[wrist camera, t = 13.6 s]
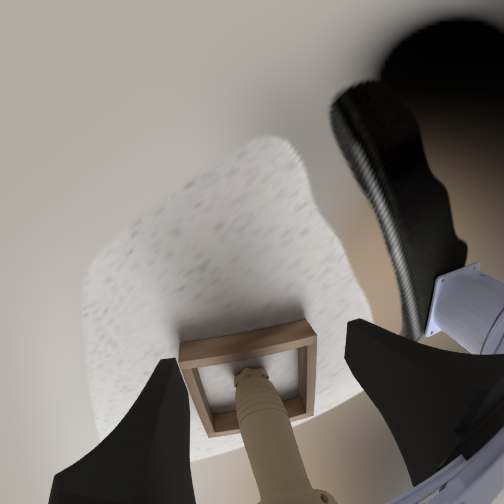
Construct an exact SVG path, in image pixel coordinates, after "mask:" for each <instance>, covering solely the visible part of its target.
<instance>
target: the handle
mask: <svg viewBox="0 0 504 504" xmlns="http://www.w3.org/2000/svg"><path fill="white" fill-rule="evenodd" d="M268 378H269V377H268V375H267V373H266V371H265V370H264V369H262V368H258V369H250V368H245V369H243V371H242V372H241V373H240V374H239V375H236V376H235V379H234V387H236V388H237V389H236V394H235V402H236V412H237V419H238V424H239V428H240V432H241V435H242V438H243V442H244V445H245V448H246V451H247V454H248V457H249V460H250V464H251V467H252V470H253V473H254V476H255V479H256V482H257V485H258V488H259V493H260V497H261V501H260V502H259V503H258V504H337V502H336V500H335V498H334V497H333V496H332V495H331V494H330V493H328V492H326V491H323V490H317V489H313V488H312V486H311V484H310V482H309V479H308V477H307V474H306V471H305V468H304V465H303V462H302V459H301V456H300V453H299V450H298V446H297V443H296V440H295V436H294V434H293V430H292V427H291V423H290V420H289V417H288V415H287V412H286V410H285V407H284V405H283V402H282V400H281V398H280V396H279V394H278V392H277V391H276V389H275V387H274V386H273V384H272V383H271V382H270V381H269V380H268Z"/></svg>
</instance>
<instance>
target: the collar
mask: <svg viewBox="0 0 504 504" xmlns="http://www.w3.org/2000/svg"><path fill="white" fill-rule="evenodd" d="M295 348H298V372H299V397H297V398H293V399H289V400H285V401H282V402H283V405H284V407H285V410H286V412H287V415H288V417H289V420H290V422H293V421H296V420H300V419H303V418H307V417H310V416H313V415H314V400H315V381H316V355H317V334H316V333H315V332H314V330H313V329H312V327H311V326H310V324H309V323H308V322H307V320H306V319H305V320H301V321H297V322H293V323H288V324H284V325H279V326H275V327H270V328H265V329H260V330H255V331H250V332H245V333H239V334H234V335H228V336H223V337H217V338H211V339H205V340H198V341H192V342H185V343H180V345H179V365H180V368H181V371H182V373H183V376H184V379H185V382H186V384H187V387H188V389H189V392H190V395H191V397H192V400H193V402H194V405H195V407H196V410H197V412H198V414H199V417H200V419H201V422H202V424H203V426H204V428H205V431H206V433H207V435H208V437H209V438H211V437H219V436H225V435H232V434H238V433H241V432H240V428H239V424H238V419H237V412H236V411H233V412H227V413H221V414H214V415H213V414H212V412H211V409H210V406H209V403H208V400H207V397H206V394H205V392H204V389H203V386H202V383H201V380H200V376H199V373H198V370H197V368H198V367H205V366H211V365H217V364H223V363H229V362H235V361H240V360H245V359H250V358H255V357H260V356H265V355H270V354H274V353H279V352H283V351H287V350H291V349H295Z"/></svg>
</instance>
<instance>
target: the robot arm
mask: <svg viewBox="0 0 504 504" xmlns="http://www.w3.org/2000/svg"><path fill="white" fill-rule="evenodd" d="M479 268H480V263H479V262H476V263H473V264H471V265H468V266H465V267H463V268H460V269H457V270H455V271H452V272H449V273H447V274H444V275H441V276H439V277H437V278H436V281H435V287H434V293H433V298H432V303H431V308H430V313H429V317H428V322H427V326H426V330H425V336H426V337H429V336H431V335H433V334H435V333H437V332H439V331H441V330H443V331H444V332H445V333H447V334H448V335H449V336H450V337H452V338H453V339H454V340H456V341H457V342H458V343H459V344H461V345H462V346H463V347H464V348H466V349H467V350H468V351H469V352H471V353H472V354H466V353H458V352H452V351H447V350H442V349H438V348H434V347H430V346H427V345H424V344H420V343H418V342H415V341H412V340H409V339H407V338H404V337H402V336H400V335H397V334H395V333H392V332H390V331H388V330H386V329H383V328H381V327H379V326H377V325H375V324H372V323H370V322H368V321H365V320H363V319H360V318H359V319H356V320H352V321H349V322H348V323H347V335H346V346H345V356H344V358H345V360H346V362H347V364H348V366H349V368H350V370H351V372H352V374H353V375H354V377H355V378H356V380H357V381H358V382H359V384H360V385H361V387H362V388H363V389H364V391H365V392H366V393H367V395H368V396H369V397H370V399H371V400H372V401H373V403H374V404H375V406H376V407H377V408H378V410H379V411H380V413H381V414H382V416H383V417H384V419H385V421H386V423H387V425H388V427H389V429H390V430H391V432H392V434H393V436H394V438H395V440H396V442H397V445H398V447H399V449H400V451H401V454H402V456H403V458H404V461H405V464H406V466H407V469H408V472H409V475H410V478H411V481H412V485H413V486H414V488H412V489H411V490H409V491H407V492H406V493H404V494H402V495H400V496H398V497H397V498H395V499H393V500H391V501H389V502H387V503H385V504H418V503H419V502H421V501H422V500H424V499H425V498H427V497H428V496H430V495H431V494H433V493H434V492H436V491H437V490H438V489H440V490H439V493H438V494H437V495H436V496H434V497H433V498H431V499H430V500H429V501H427V502H426V503H425V504H490V503H492V501H493V500H494V499H495V498H496V497H497V496H498V494H500V492H501V491H502V490H503V489H504V282H502V281H500V280H498V279H496V278H494V277H492V276H490V275H488V274H486V273H484V272H482V271H480V270H479ZM48 504H196V502H195V496H194V490H193V485H192V478H191V470H190V407H189V397H188V391H187V388H186V386H185V383H184V380H183V378H182V375H181V372H180V370H179V367H178V364H177V361H176V358H169V359H161V360H160V361H159V363H158V364H157V366H156V368H155V370H154V372H153V373H152V375H151V377H150V379H149V380H148V382H147V384H146V385H145V387H144V389H143V390H142V392H141V394H140V395H139V397H138V398H137V400H136V401H135V403H134V404H133V405H132V407H131V408H130V410H129V411H128V413H127V414H126V415H125V417H124V418H123V419H122V420H121V422H120V423H119V424H118V425H117V426H116V427H115V429H114V430H113V431H112V432H111V433H110V434H109V435H108V436H107V437H106V438H105V439H104V440H103V441H102V442H101V443H100V444H99V445H98V446H96V447H95V448H94V449H93V450H92V451H91V452H89V453H88V454H87V455H85V456H84V457H83V458H82V459H80V460H79V461H77V462H76V463H74V464H73V465H71V466H70V467H68V468H66V469H64V470H63V471H61V472H59V473H58V474H56V475H55V476H54V479H53V484H52V489H51V493H50V497H49V502H48Z"/></svg>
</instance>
